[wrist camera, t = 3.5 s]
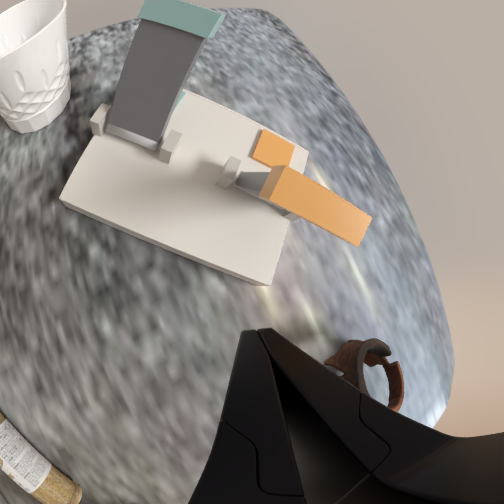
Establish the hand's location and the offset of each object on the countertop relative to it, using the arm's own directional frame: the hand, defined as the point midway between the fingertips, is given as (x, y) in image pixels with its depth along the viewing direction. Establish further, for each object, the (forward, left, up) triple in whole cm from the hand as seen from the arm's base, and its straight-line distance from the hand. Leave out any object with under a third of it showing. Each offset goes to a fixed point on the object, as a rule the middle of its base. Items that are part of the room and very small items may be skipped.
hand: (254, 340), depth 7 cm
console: (+5, +8, -12) cm, 16 cm away
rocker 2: (+8, +4, -10) cm, 13 cm away
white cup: (-4, +22, -13) cm, 26 cm away
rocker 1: (+2, +12, -10) cm, 16 cm away
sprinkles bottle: (-20, -8, -10) cm, 23 cm away
